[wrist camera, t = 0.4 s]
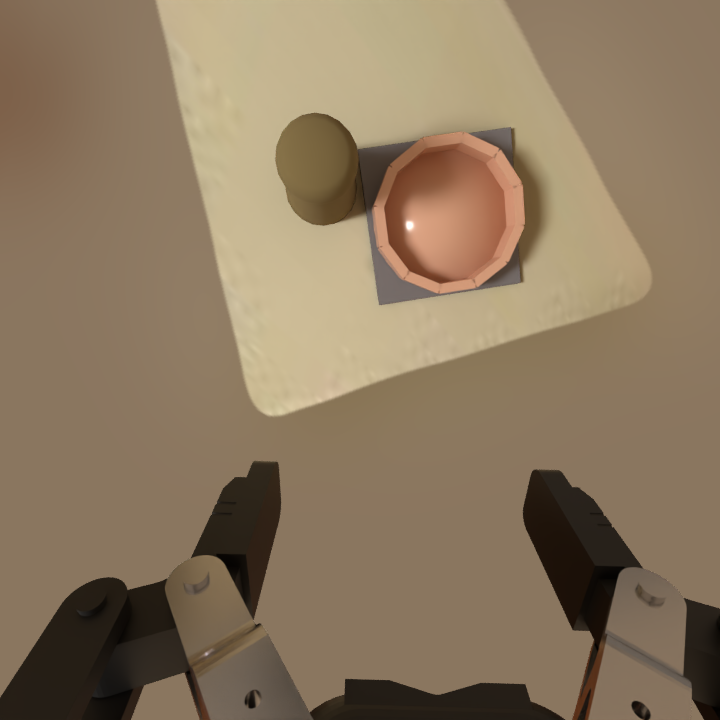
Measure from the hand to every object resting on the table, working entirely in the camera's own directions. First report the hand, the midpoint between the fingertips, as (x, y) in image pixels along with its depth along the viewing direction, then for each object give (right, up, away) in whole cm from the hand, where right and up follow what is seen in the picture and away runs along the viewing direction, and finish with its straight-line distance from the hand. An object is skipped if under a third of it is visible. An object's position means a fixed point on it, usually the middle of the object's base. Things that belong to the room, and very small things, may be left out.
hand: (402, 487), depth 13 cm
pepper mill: (-5, +19, +22) cm, 29 cm away
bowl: (+6, +16, +23) cm, 29 cm away
